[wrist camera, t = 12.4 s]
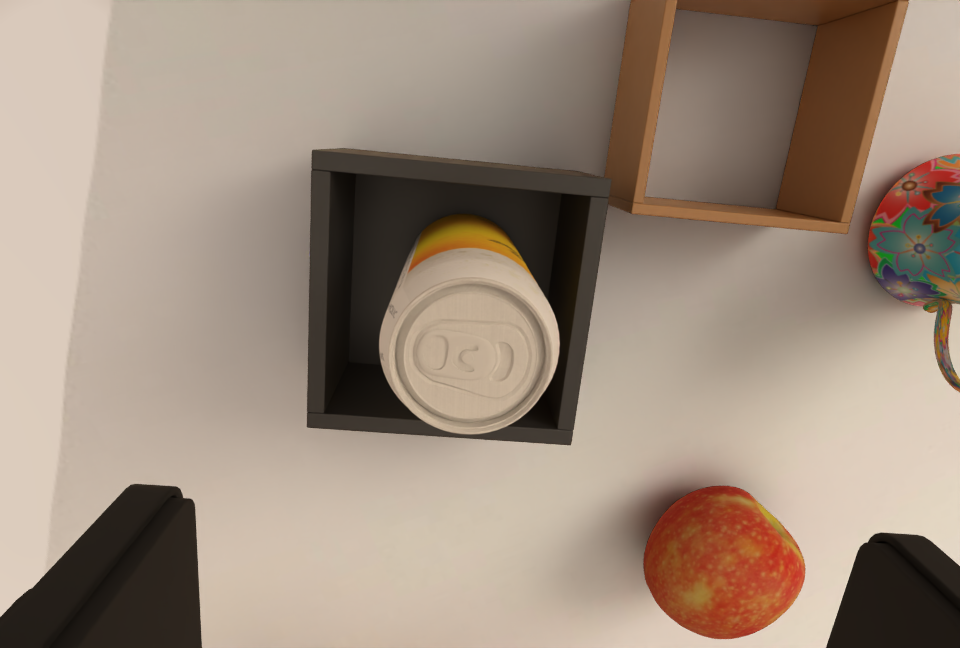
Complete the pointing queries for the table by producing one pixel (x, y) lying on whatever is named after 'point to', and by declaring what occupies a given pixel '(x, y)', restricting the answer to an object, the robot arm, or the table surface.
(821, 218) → the wooden square frame
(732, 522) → the apple
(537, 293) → the beer can
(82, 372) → the table surface
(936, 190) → the mug
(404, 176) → the dark grey open box
